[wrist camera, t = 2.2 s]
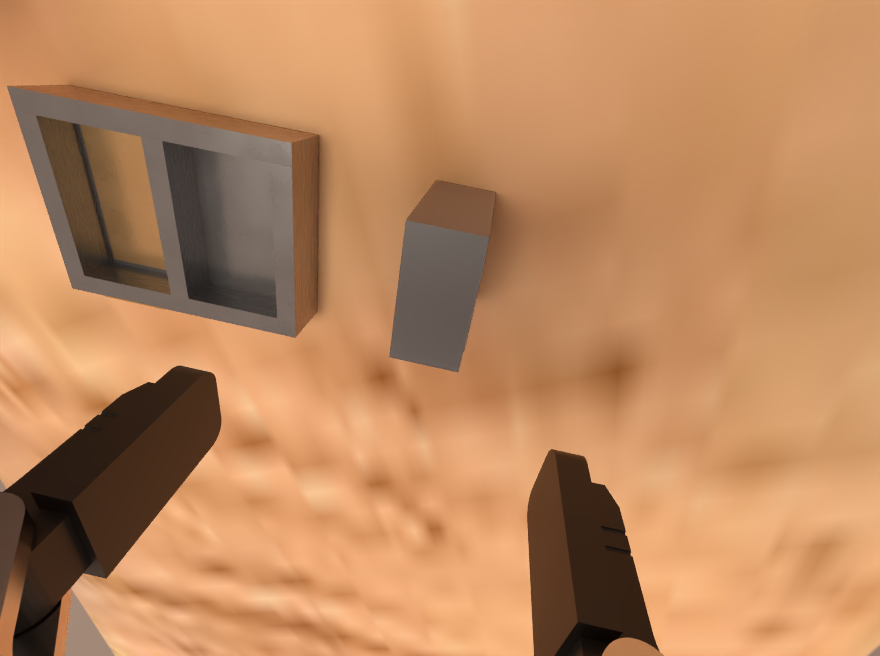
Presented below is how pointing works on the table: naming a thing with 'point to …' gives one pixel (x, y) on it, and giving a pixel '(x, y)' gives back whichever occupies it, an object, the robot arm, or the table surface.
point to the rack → (177, 205)
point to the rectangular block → (441, 274)
